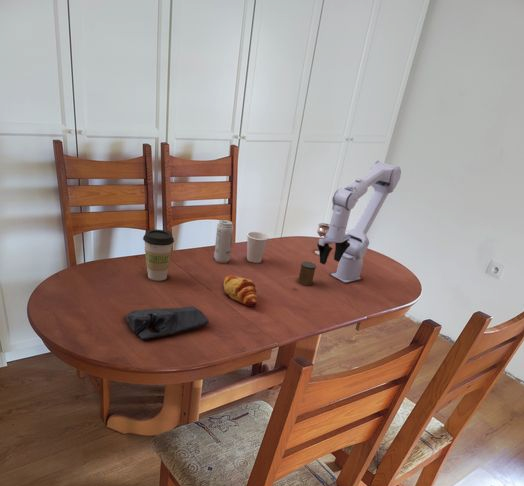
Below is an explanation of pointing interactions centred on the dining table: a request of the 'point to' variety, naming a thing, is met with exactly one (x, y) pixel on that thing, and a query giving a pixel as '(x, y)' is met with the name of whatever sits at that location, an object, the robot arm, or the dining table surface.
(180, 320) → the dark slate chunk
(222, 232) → the energy drink can
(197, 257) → the dining table surface
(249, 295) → the croissant
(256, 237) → the dixie cup
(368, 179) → the robot arm
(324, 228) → the wineglass
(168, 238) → the coffee cup
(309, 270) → the tea tin
